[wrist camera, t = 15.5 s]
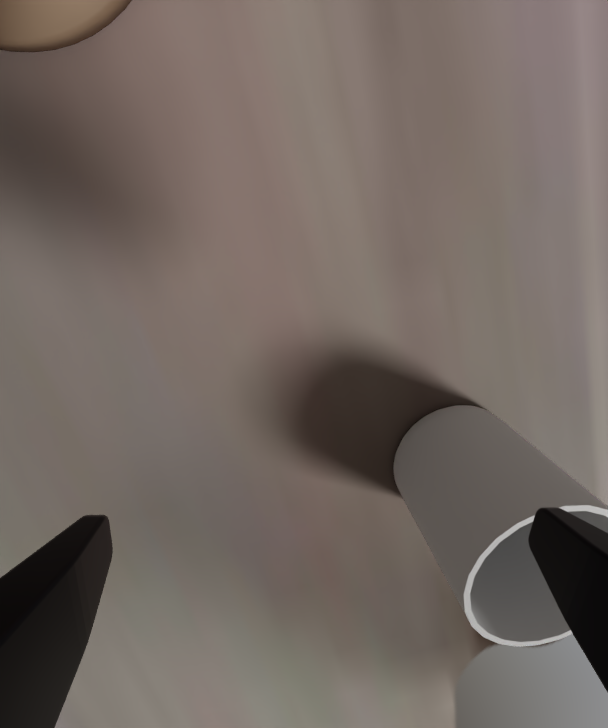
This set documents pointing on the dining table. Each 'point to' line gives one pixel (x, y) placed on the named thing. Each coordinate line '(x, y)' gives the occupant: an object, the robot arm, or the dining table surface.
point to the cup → (489, 517)
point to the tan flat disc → (53, 22)
